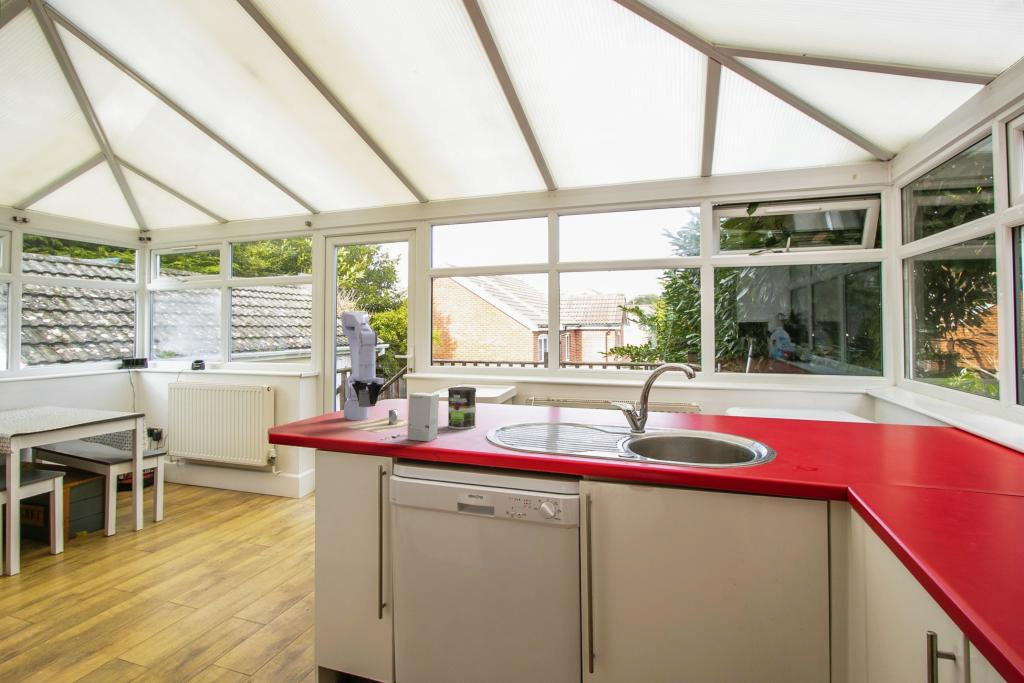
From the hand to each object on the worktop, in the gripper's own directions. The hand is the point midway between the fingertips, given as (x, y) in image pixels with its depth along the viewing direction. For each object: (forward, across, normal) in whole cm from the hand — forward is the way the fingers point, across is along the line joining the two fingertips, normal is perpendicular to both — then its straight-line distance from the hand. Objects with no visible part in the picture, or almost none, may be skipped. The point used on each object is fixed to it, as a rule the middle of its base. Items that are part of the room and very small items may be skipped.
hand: (367, 403), depth 168 cm
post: (+9, +6, +7) cm, 13 cm away
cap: (+1, 0, 0) cm, 1 cm away
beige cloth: (+9, +3, +4) cm, 11 cm away
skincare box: (+10, +27, 0) cm, 29 cm away
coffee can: (+10, +24, +23) cm, 35 cm away
